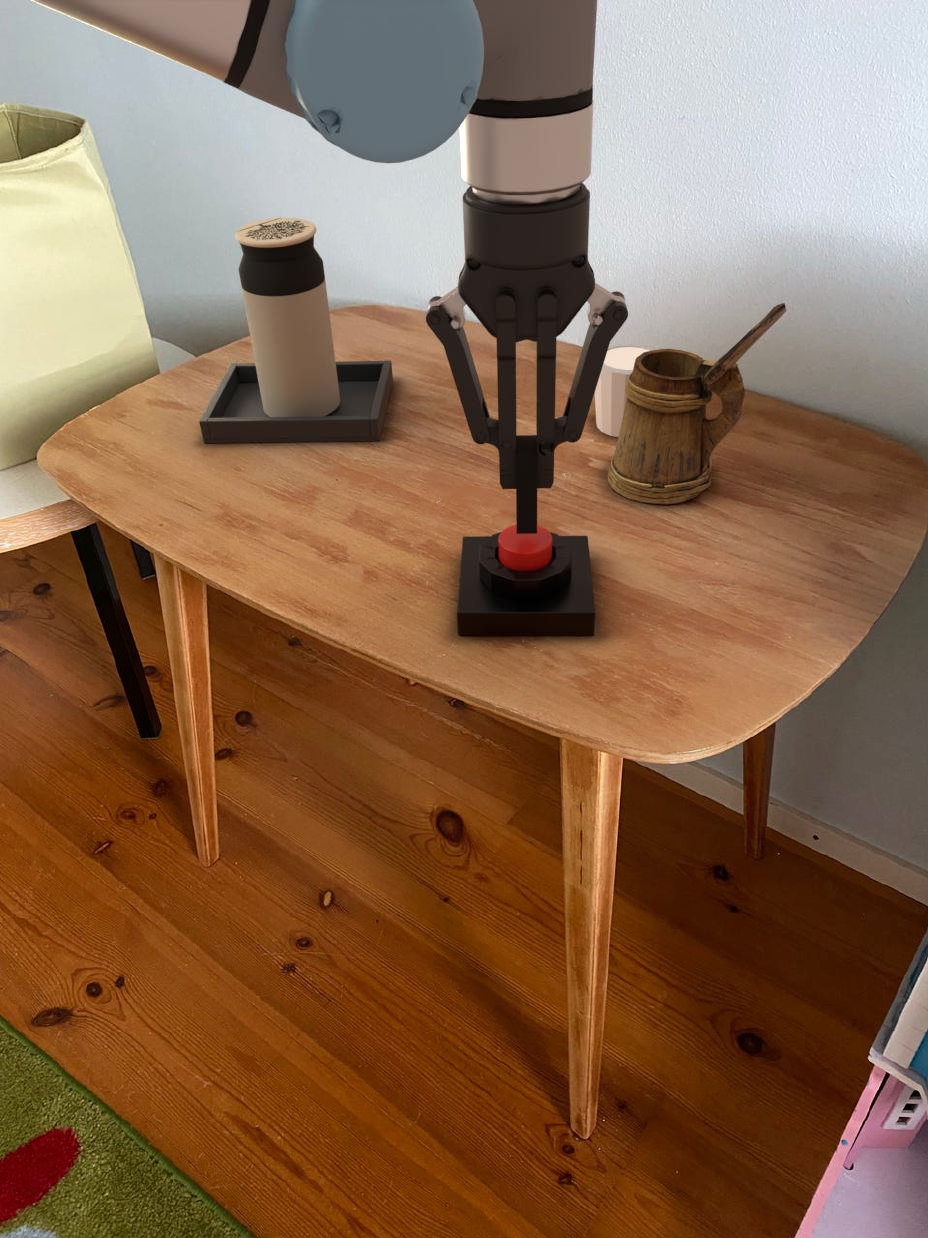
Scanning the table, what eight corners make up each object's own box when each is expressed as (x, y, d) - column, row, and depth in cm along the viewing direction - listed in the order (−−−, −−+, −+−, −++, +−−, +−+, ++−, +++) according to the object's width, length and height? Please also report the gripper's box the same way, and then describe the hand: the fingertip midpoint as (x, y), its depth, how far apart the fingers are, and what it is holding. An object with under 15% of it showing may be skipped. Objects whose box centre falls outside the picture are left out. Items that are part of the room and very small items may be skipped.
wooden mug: (730, 532, 82) (763, 323, 71) (589, 486, 89) (599, 288, 77) (773, 486, 88) (809, 285, 76) (637, 446, 94) (653, 255, 83)
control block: (458, 636, 73) (455, 593, 70) (463, 558, 81) (461, 517, 78) (593, 636, 72) (596, 592, 70) (586, 557, 80) (588, 516, 78)
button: (498, 572, 73) (498, 553, 72) (499, 542, 76) (498, 523, 75) (552, 572, 72) (553, 552, 71) (551, 541, 76) (551, 522, 75)
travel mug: (355, 408, 102) (334, 229, 91) (287, 432, 98) (257, 249, 87) (315, 383, 107) (291, 210, 96) (250, 405, 103) (217, 228, 92)
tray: (203, 443, 98) (198, 421, 96) (234, 383, 109) (230, 363, 107) (379, 441, 97) (377, 418, 95) (393, 381, 108) (391, 360, 106)
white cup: (610, 402, 101) (614, 337, 97) (671, 418, 98) (678, 351, 94) (577, 429, 97) (579, 362, 93) (639, 447, 94) (645, 378, 90)
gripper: (632, 163, 60) (612, 495, 75) (420, 170, 61) (441, 497, 76) (644, 199, 54) (620, 551, 69) (409, 206, 55) (435, 553, 70)
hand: (526, 523), depth 72 cm, fingers closed
